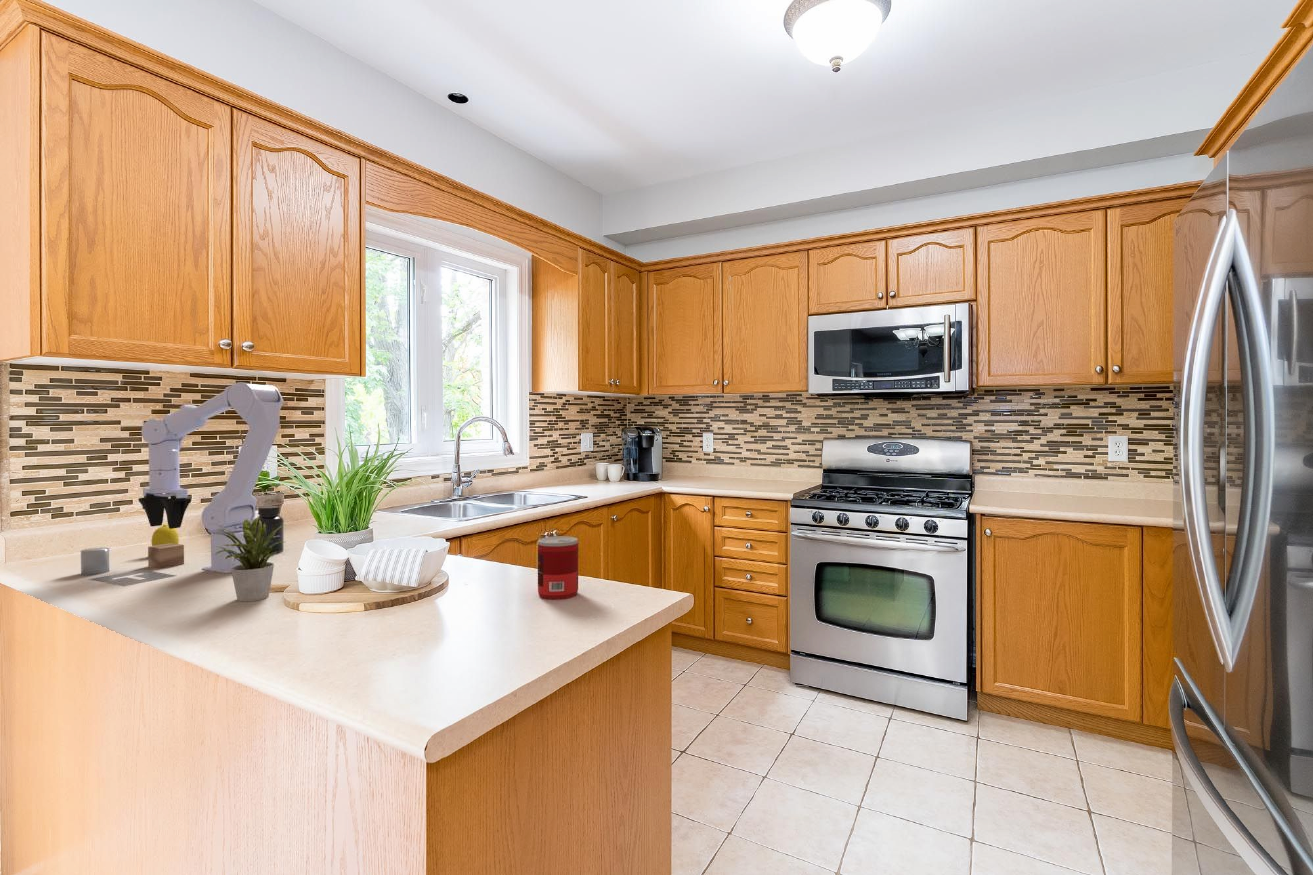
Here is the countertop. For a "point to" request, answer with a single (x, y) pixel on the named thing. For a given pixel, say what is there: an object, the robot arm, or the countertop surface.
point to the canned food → (557, 567)
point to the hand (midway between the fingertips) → (165, 526)
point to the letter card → (132, 577)
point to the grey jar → (94, 561)
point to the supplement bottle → (272, 527)
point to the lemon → (165, 536)
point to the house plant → (251, 562)
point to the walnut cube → (165, 555)
